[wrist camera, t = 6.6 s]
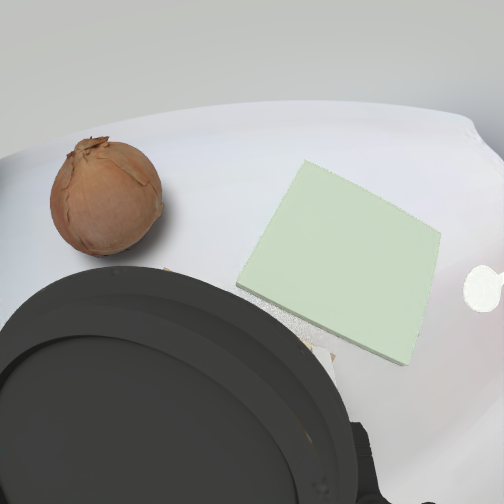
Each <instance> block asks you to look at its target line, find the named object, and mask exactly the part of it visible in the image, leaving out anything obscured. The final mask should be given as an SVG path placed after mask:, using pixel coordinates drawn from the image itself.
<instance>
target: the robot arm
mask: <svg viewBox="0 0 504 504" xmlns="http://www.w3.org/2000/svg"><path fill="white" fill-rule="evenodd" d="M310 351H311V352H312V353H313V354H314V355H315V356H316V358H317V359H318V360H319V362H320V363H321V364H322V366H323V367H324V368H325V370H326V371H327V373H328V375H329V376H330V378H331V379H332V381H333V383H334V385H335V386H336V388H337V384H336V379H335V374H334V369H333V364H332V360H331V355H330V350H329V348H322V347H314V346H312V347H311V350H310ZM337 390H338V389H337ZM350 424H351V429H352V434H353V439H354V444H355V449H356V455H357V464H358V489H357V497H356V503H355V504H391V503H390V502H388V501H387V500H386V499H385V498H384V497H383V496H382V495H381V493H380V490H379V487H378V481H377V476H376V471H375V466H374V461H373V457H372V452H371V447H370V443H369V438H368V434H367V432H366V430H365V429H364V428H363V426H362V425H361V423H360V422H350ZM422 504H435V503H432V502H425V503H422Z"/></svg>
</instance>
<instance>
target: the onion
mask: <svg viewBox="0 0 504 504" xmlns="http://www.w3.org/2000/svg"><path fill="white" fill-rule="evenodd" d="M108 138H109V137H108V136H106V137H99V138H93V139H92V136H91V137H90V139H84V140H82V141H80V142H78V144H77V145H76V146H75V149H74V151H72V152H71V153H69V154H67V159H66V160H65V162H64V164H63V166H62V167H61V169H60V170H59V172H58V174H57V176H56V178H55V181H54V184H53V187H52V190H51V196H50V209H51V215H52V219H53V222H54V225H55V227H56V229H57V230H58V232H59V233H60V235H61V236H62V238H63V239H64V240H65V241H66V242H67V243H69V244H70V245H71V246H72V247H74V248H75V249H76V250H78V251H81V252H83V253H86V254H88V255H91V256H94V257H98V255H105V256H106V255H109V254H115V253H118V252H120V251H122V250H131V249H127V248H129V247H130V246H132V245H133V244H135V243H136V242H138V241H139V240H140V239H141V238H142V237H143V236H144V235H145V234H146V232H147V231H148V230H149V229H150V228H151V226H152V224H153V223H154V222H155V221H156V219H157V218H159V217H160V216H161V214H162V210H163V206H164V203H161V198H162V188H161V182H160V179H159V176H158V174H157V171H156V169H155V167H154V166H153V164H152V163H151V162H150V160H149V159H148V158H147V157H146V156H145V155H144V154H143V153H142V152H141V151H140V150H138V149H136V148H135V147H133V146H130V145H128V144H125V143H121V142H107V141H108Z"/></svg>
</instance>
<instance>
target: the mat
mask: <svg viewBox="0 0 504 504" xmlns="http://www.w3.org/2000/svg"><path fill="white" fill-rule="evenodd" d="M440 238H441V233H440V232H438V231H437V230H435V229H434V228H432V227H430V226H429V225H427V224H425V223H424V222H422V221H420V220H419V219H417V218H415V217H414V216H412V215H410V214H409V213H407V212H405V211H404V210H402V209H400V208H398V207H397V206H395V205H393V204H391V203H390V202H388V201H386V200H384V199H382V198H380V197H379V196H377V195H375V194H373V193H371V192H369V191H368V190H366V189H364V188H362V187H360V186H358V185H356V184H354V183H352V182H350V181H348V180H346V179H344V178H342V177H340V176H338V175H336V174H334V173H332V172H330V171H328V170H326V169H324V168H322V167H320V166H318V165H316V164H313V163H311V162H309V161H307V160H304V162H303V164H302V166H301V167H300V169H299V171H298V173H297V175H296V176H295V178H294V180H293V182H292V183H291V185H290V187H289V189H288V191H287V192H286V194H285V196H284V198H283V199H282V201H281V203H280V205H279V207H278V208H277V210H276V212H275V214H274V215H273V217H272V219H271V221H270V223H269V224H268V226H267V228H266V230H265V231H264V233H263V235H262V237H261V239H260V240H259V242H258V244H257V246H256V247H255V249H254V251H253V253H252V255H251V256H250V258H249V260H248V262H247V263H246V265H245V267H244V269H243V270H242V272H241V274H240V276H239V278H238V279H237V281H236V286H238V287H240V288H242V289H244V290H245V291H247V292H249V293H251V294H253V295H255V296H257V297H259V298H261V299H263V300H265V301H267V302H269V303H271V304H273V305H275V306H277V307H279V308H281V309H283V310H285V311H287V312H289V313H291V314H293V315H295V316H297V317H299V318H301V319H303V320H305V321H307V322H309V323H311V324H313V325H315V326H317V327H319V328H321V329H323V330H325V331H328V332H330V333H332V334H334V335H336V336H338V337H340V338H342V339H344V340H346V341H348V342H351V343H353V344H355V345H357V346H359V347H361V348H363V349H366V350H368V351H370V352H372V353H374V354H376V355H379V356H381V357H383V358H385V359H387V360H390V361H392V362H394V363H396V364H398V365H401V366H408V364H409V361H410V358H411V355H412V352H413V349H414V346H415V343H416V340H417V337H418V333H419V330H420V327H421V323H422V320H423V316H424V312H425V309H426V305H427V301H428V297H429V293H430V289H431V284H432V280H433V275H434V271H435V266H436V261H437V255H438V250H439V244H440Z"/></svg>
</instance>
